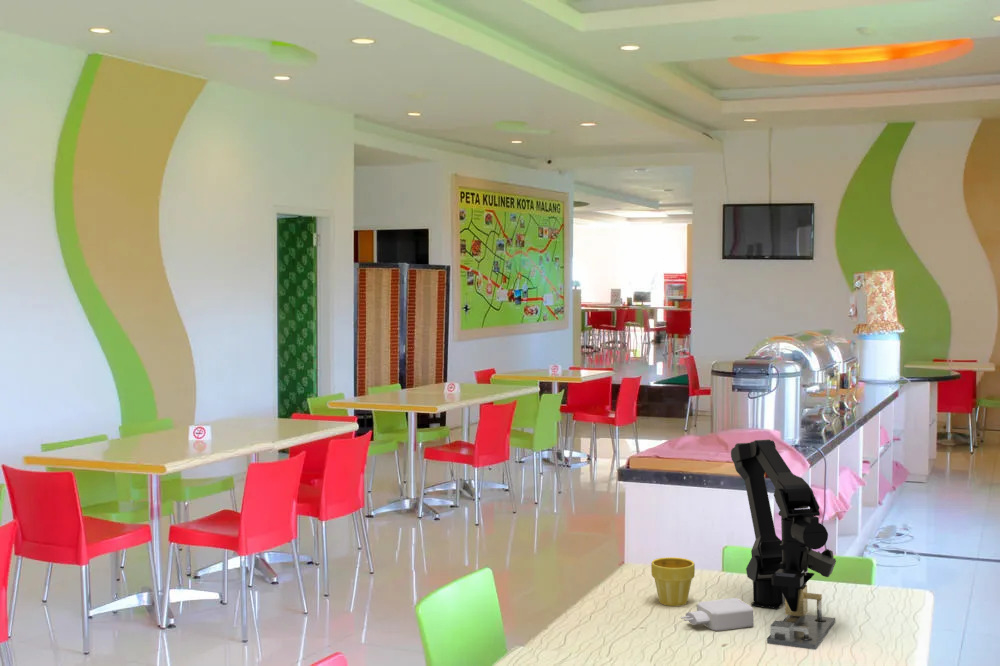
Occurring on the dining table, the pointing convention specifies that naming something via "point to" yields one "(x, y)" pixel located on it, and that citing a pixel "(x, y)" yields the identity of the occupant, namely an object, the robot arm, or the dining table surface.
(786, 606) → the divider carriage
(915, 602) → the dining table surface
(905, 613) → the dining table surface
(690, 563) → the plant pot
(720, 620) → the charger
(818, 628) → the dividers base
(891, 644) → the dining table surface
